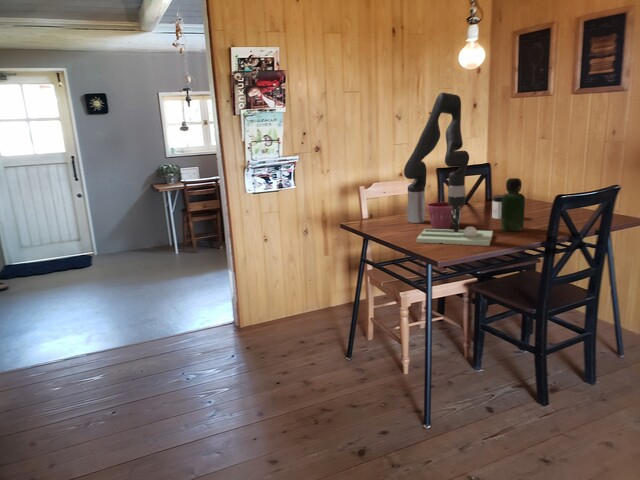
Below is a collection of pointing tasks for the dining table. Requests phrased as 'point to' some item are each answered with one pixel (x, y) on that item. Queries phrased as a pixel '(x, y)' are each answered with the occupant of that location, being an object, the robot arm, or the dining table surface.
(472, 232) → the ball
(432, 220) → the plant pot
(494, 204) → the jar
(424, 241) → the putting mat
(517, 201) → the dark green tall piece
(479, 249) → the dining table surface
